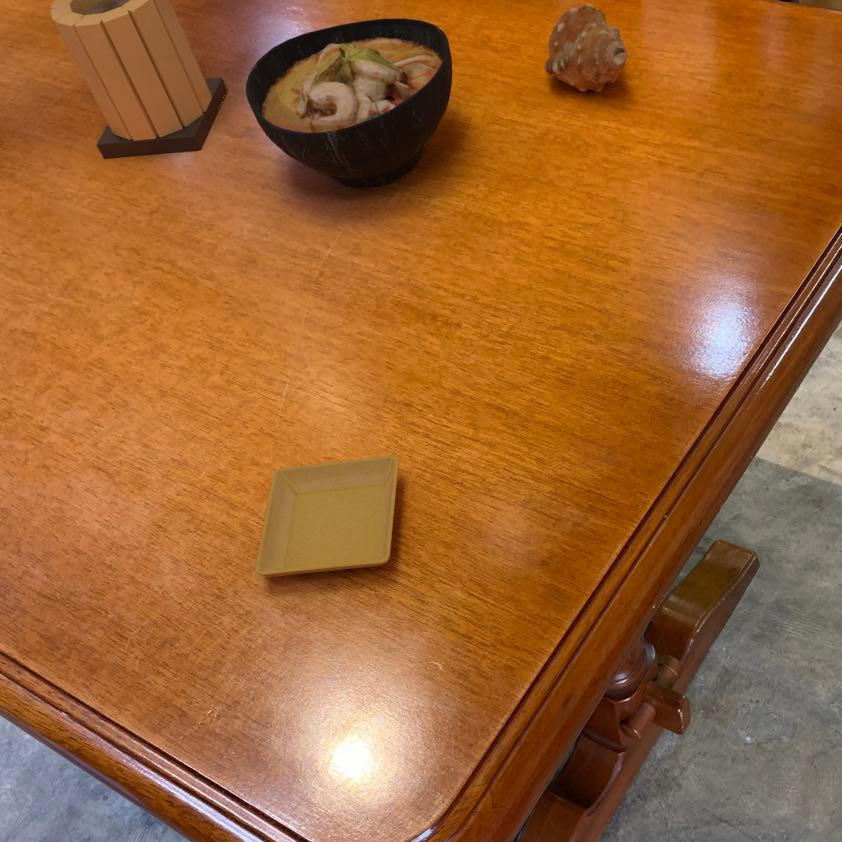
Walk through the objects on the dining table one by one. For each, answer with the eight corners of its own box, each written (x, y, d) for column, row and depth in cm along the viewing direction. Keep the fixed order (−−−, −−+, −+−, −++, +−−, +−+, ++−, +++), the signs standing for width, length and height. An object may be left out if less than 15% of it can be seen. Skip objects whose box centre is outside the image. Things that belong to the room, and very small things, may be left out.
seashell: (650, 92, 97) (667, 23, 87) (586, 144, 96) (596, 80, 86) (584, 23, 98) (594, -52, 88) (520, 74, 97) (523, 3, 87)
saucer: (264, 592, 65) (252, 574, 63) (283, 486, 70) (273, 466, 68) (397, 581, 64) (388, 562, 62) (407, 474, 69) (399, 453, 67)
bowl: (318, 107, 98) (281, 2, 90) (490, 103, 94) (468, -7, 86) (255, 221, 89) (208, 115, 81) (443, 222, 85) (413, 111, 77)
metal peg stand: (103, 158, 99) (39, 42, 89) (136, 99, 104) (78, -16, 95) (200, 150, 97) (145, 30, 88) (228, 90, 103) (178, -28, 93)
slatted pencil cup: (96, 144, 97) (33, 30, 89) (129, 85, 103) (73, -27, 94) (194, 135, 96) (140, 18, 87) (222, 76, 101) (174, -39, 93)
